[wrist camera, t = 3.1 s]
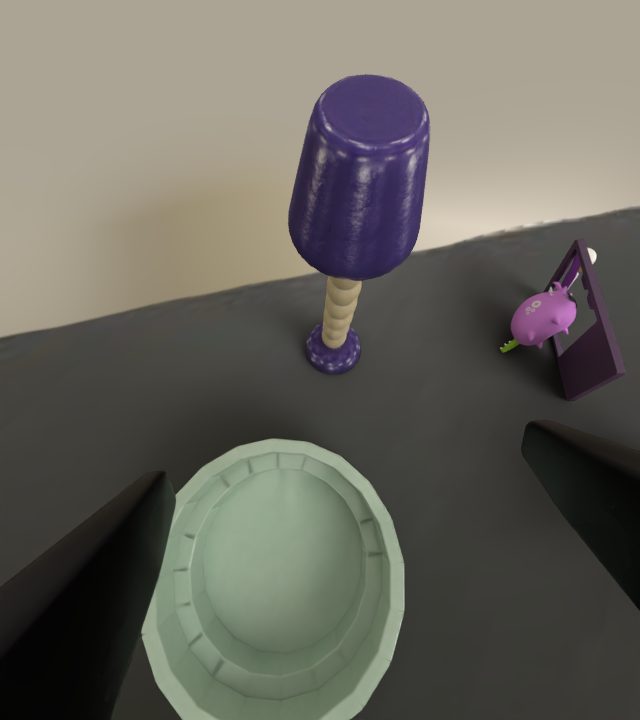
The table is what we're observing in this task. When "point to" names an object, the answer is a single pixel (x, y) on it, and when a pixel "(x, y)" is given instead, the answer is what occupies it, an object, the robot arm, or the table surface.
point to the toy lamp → (357, 199)
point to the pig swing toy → (557, 311)
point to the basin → (275, 588)
